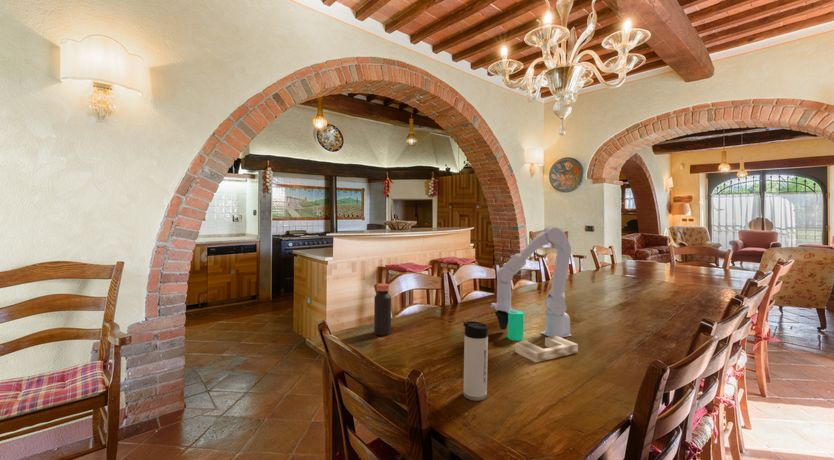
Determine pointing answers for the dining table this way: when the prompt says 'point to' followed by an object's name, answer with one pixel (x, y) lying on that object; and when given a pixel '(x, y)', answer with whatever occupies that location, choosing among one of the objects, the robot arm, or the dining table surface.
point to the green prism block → (515, 325)
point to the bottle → (382, 311)
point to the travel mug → (475, 360)
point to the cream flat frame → (546, 349)
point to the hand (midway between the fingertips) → (503, 328)
